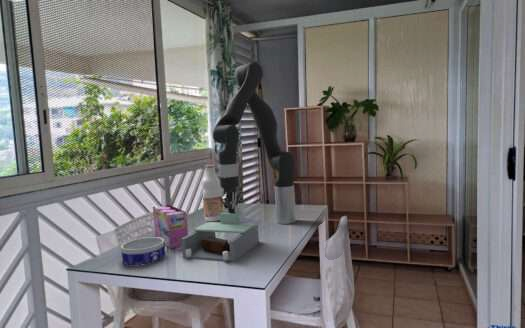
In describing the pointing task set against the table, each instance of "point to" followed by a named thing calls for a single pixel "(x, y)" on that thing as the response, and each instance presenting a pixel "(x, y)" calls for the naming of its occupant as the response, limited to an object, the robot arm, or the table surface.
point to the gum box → (170, 225)
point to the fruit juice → (211, 195)
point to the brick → (215, 245)
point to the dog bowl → (143, 250)
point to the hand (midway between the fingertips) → (232, 217)
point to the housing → (237, 249)
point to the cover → (226, 224)
